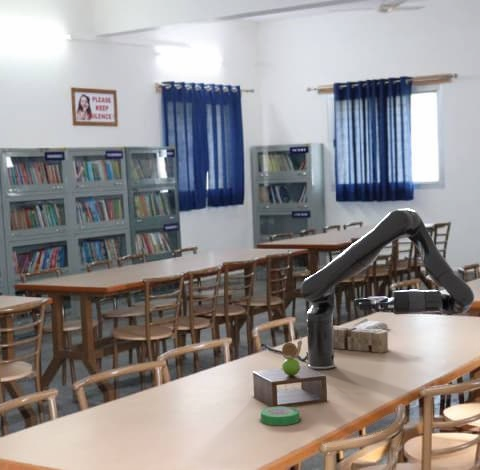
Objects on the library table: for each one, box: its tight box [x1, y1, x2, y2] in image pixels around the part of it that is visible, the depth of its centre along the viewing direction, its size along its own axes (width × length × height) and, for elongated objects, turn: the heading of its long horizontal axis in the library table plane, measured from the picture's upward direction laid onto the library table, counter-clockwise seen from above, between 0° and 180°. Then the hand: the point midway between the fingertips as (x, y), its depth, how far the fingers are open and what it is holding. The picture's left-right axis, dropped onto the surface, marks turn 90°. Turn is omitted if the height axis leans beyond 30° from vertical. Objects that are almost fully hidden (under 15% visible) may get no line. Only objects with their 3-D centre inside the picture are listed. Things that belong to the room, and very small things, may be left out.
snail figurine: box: [281, 336, 303, 376], centre depth 290 cm, size 5×6×12 cm
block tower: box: [333, 325, 389, 354], centre depth 367 cm, size 8×8×29 cm
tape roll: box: [260, 406, 300, 426], centre depth 270 cm, size 11×11×3 cm
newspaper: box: [350, 318, 389, 330], centre depth 396 cm, size 35×12×4 cm, turn 143°
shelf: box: [252, 365, 328, 407], centre depth 293 cm, size 16×18×8 cm
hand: (357, 304), depth 298 cm, fingers open, 8 cm apart
